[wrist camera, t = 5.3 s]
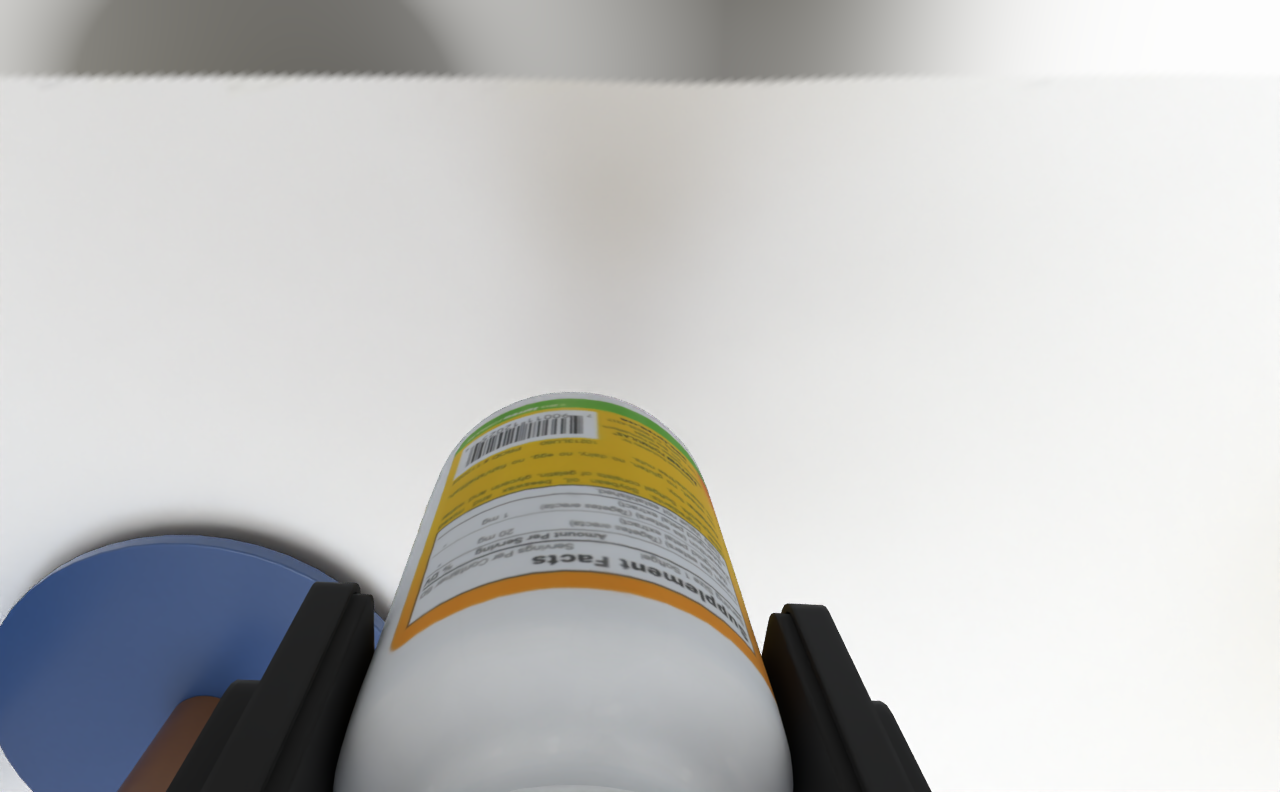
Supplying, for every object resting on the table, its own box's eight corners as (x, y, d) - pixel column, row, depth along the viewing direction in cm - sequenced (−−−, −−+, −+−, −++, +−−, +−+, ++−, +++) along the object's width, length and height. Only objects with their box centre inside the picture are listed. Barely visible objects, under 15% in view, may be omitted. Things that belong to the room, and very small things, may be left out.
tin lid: (-86, 623, 27) (-255, 753, 21) (286, 457, 25) (203, 553, 20) (176, 891, 32) (92, 1050, 27) (498, 766, 30) (477, 908, 25)
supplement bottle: (613, 659, 17) (650, 1315, 8) (386, 551, 15) (114, 1195, 6) (759, 469, 15) (1013, 1006, 6) (523, 331, 14) (420, 765, 5)
